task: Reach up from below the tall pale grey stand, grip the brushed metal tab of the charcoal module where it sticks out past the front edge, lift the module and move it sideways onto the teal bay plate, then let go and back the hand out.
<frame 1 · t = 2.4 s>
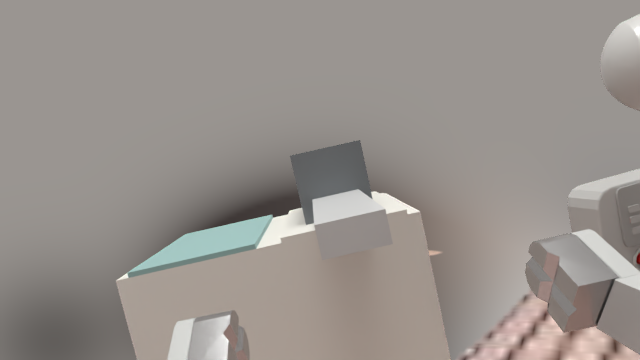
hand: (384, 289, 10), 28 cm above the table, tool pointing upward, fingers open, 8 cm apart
module: (337, 210, 37), point 26 cm above the table, touching stand
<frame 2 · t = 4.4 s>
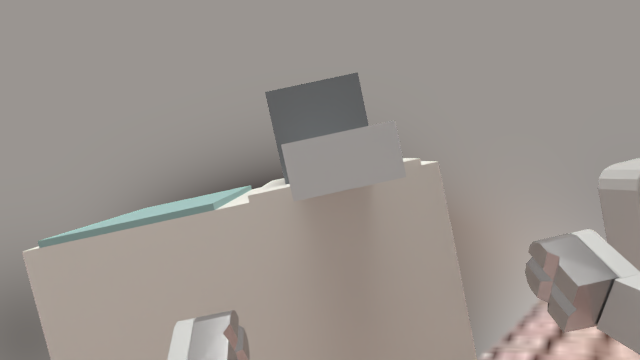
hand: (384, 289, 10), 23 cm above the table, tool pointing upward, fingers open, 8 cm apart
module: (328, 172, 29), point 26 cm above the table, touching stand
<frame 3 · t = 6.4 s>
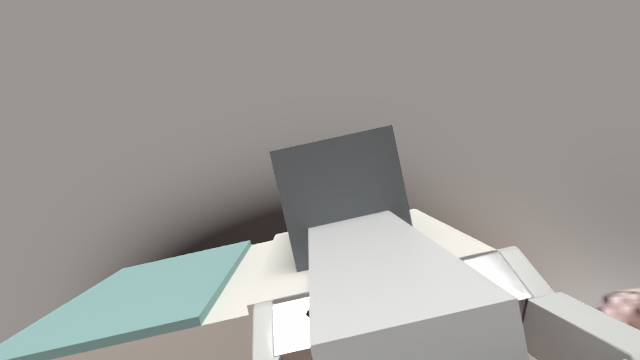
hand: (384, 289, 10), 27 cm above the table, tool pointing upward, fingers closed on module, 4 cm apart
module: (348, 240, 23), point 26 cm above the table, touching gripper, stand
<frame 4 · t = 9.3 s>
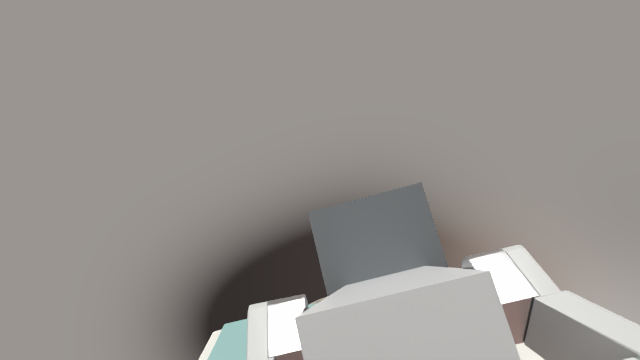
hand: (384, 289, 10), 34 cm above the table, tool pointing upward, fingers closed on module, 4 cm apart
module: (394, 308, 22), point 28 cm above the table, tilted 18°, touching gripper
when the fingers open (29 cm above the table, at t = 12.4 s): module stays where it is, resting on stand.
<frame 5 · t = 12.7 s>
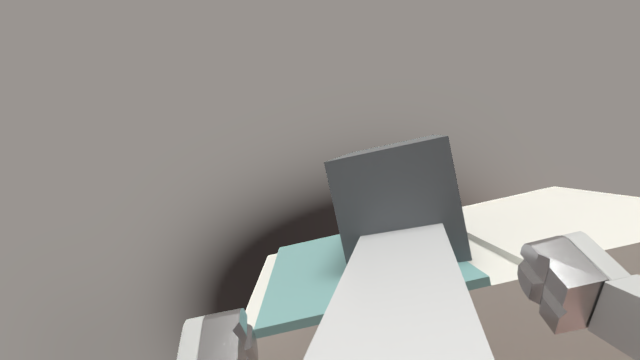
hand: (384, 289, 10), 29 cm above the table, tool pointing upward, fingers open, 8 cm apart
module: (408, 245, 23), point 26 cm above the table, touching stand
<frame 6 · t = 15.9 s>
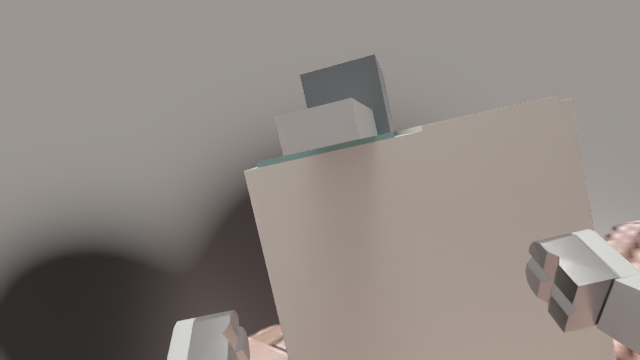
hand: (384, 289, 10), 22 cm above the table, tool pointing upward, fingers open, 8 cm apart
module: (359, 139, 34), point 26 cm above the table, touching stand
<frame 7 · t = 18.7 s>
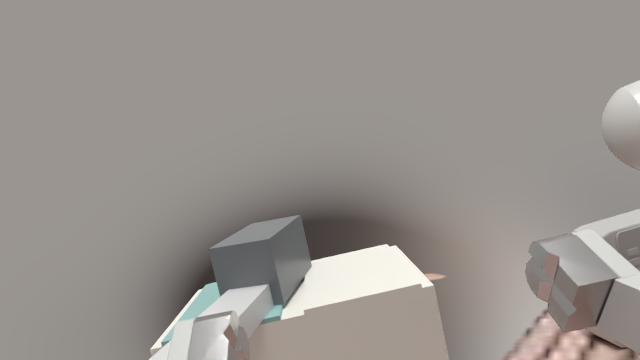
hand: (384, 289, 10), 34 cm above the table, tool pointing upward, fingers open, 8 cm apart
module: (269, 290, 38), point 26 cm above the table, touching stand
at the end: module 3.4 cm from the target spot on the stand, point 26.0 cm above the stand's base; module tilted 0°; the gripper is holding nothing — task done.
